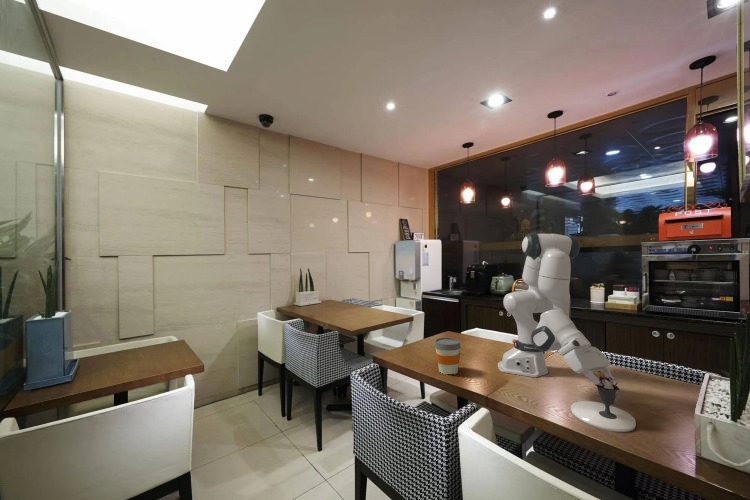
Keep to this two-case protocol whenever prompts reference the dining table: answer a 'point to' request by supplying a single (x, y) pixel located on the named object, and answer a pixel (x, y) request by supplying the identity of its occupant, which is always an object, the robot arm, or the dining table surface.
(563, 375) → the dining table surface
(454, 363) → the reusable coffee cup
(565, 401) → the dining table surface
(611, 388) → the sundae
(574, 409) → the serving plate
